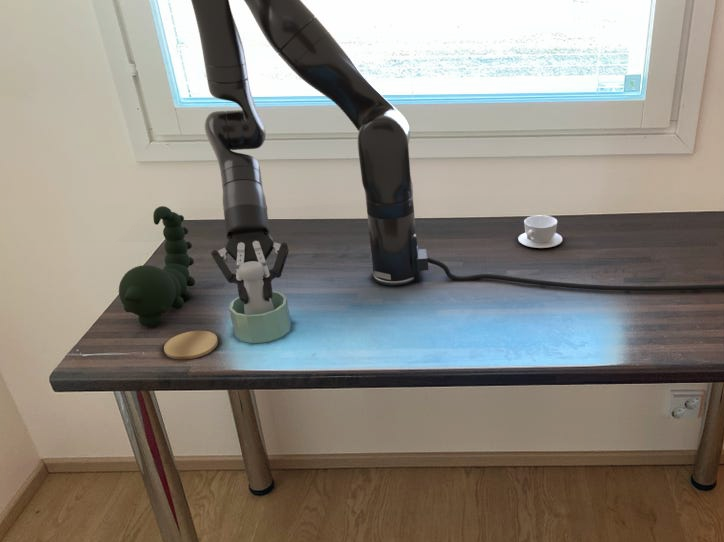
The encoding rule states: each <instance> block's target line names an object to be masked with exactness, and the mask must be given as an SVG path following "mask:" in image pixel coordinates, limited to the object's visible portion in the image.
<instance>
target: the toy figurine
mask: <svg viewBox="0 0 724 542" xmlns="http://www.w3.org/2000/svg"><path fill="white" fill-rule="evenodd" d="M152 217H153V223H154V225H156V226H158V225H159V224H160V222H162V225H163V226H164V228H163V231H162V235H163V237H164V239H165V242H164V250H165V253H166V254H165V255H164V264H165V265H164V266H163V268H160V267H158V266H155V265H151V264H149V265H148V264H145V265H144V264H143V265H138V266H135V267H133V268H131V269H129V270H128V271H127V272H125V273H124V275H123V276H122V277H121V280H120V282H119V285H118V296H119V299H120V302H121V304H122V305H123V309H124V311H125V312H126V313H131V314H134V315H135V316H138V318H137V319H138V320H137V321H138V322H139V324H140V325H142V326H143V327H146V328H154V327H155V328H156V327H158V326H161V324H162V323H163V321H164V316H163V314H164V313H166V312H167V311H169V309H170V308H172V309H175V310H180V309H181V308H182V307H183V306H184V303H185V301H188V300H189V299H191V297H192V292H191V291H190V290H189V289H188V287H189V288H190V287H194V285H195V284H196V279H195V277H193V276H190V270H189V269H188V268H189V267H190V266H193V265H194V263H195V260H194V258H193V257H191V256H189V254H188V253H187V252H188V250H190V249H192V247H193V244H192V242H190V241H186V240H185V235H187V234H189V229H188V228H187V227H185V226H182V222H184V221H185V217H184V216H183V215H182V214H179V213H177V212H174V211H172V209H170V208H169V207H167V206H163V205H161V206H158V207H156V208H155V209H154V211H153V215H152ZM161 220H162V221H161Z"/></svg>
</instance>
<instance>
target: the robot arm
mask: <svg viewBox="0 0 724 542" xmlns="http://www.w3.org/2000/svg"><path fill="white" fill-rule="evenodd" d="M190 1H191V6H192V9H193V12H194V16H195V21H196V25H197V29H198V33H199V39H200V46H201V50H202V56H203V57H202V58H203V62H204V69H205V74H206V81H207V86H208V91H209V93H210V95H211V96H212V97H213V98H216V99H219V100H223V101H228V102H233V103H235V104H237V105H238V106H239V107H240V108H241V109H239V110H235V109H234V110H216V111H212V112H210V113H209V114H208V115H207V117H206V119H205V122H204V131H205V134H206V137H207V140H208V142H209V144H210V147H211V148H212V150H213V153H214V155H215V157H216V161H217V164H218V167H219V172H220V180H221V188H222V207H223V217H224V225H225V234H226V242H225V244H224V247H223V248H221V249H219V250H217V249H214V250H212V251H210V254H211V256H212V259H213V260H214V262H215V263H216V265H217V266H218V268H219V270H220V272H221V273H222V275H223V276H224V278H225V279H226V281H227V282H228V283H229V284H236V287H237V294H238V297H239V298H240V300H241V302H242V301H243V302H244V304H247V303H248V299H247V293H246V288H245V286H244V280H243V279H241V278H240V276H239V267H240V266H241V265H242V264H243V263H246V262H250V261H256V262H259V263H261V264H262V265H263V267H264V276H263V277H262V279H263V282H264V285H263V291H264V298H265V301H270V300H269V298H272V297H273V292H272V291H273V285H272V281H273V280H275V279H276V278H277V279H278V278H280V277H281V276H282V273H283V270H284V267H285V265H286V261H287V257H288V255H289V252H290V250H289V246H288V244H287V243H286V242H283V243H280V242H275V241H274V239H273V238H272V237H271V230H270V222H269V214H268V206H267V200H266V199H267V198H266V195H265V192H264V188H263V180H262V172H261V167H260V162H259V161H258V159H257V158H256V157H254V156H252V155H250V154H246V153H241V152H236V151H241V150H255V149H256V150H257V149H259V148H261V147H262V146H263V145H264V144H265V140H266V137H267V135H266V127H265V125H264V122H263V119H262V117H261V114H260V112H259V110H258V108H257V105H256V103H255V101H254V98H253V95H252V92H251V87H250V84H249V83H250V82H249V81H250V80H249V75H248V68H247V61H246V55H245V49H244V45H243V41H242V38H241V35H240V32H239V30H238V29H239V28H238V27H237V24H236V20H235V18H234V15H233V12H232V9H231V5H230V0H190ZM243 2H244V3H245V4H246V6H247V8H248V10H249V11H250V13H251V15H252V17H253V19H254V20H255V22H256V24H257V26H258V27H259V30H260V31H261V33H262V34H263V36H264V38H265V39H266V41H267V42H268V44H269V45H270V46H271V48H272V49H273V51H275V53H276V54H277V55H278V56H279V57H280V58H281V59H282V60H283V61H284V63H286V65H287V66H288V67H289V68H290V69H291V70H292V71H293V72H294V73H295V74H296V75H297V76H298V77H299V78H300V79H301V80H303V81H304V82H305V83H307V85H309V86H310V87H312V88H313V89H315V90H316V91H317V92H319V93H320V94H322V96H323V95H324V97H326V98H328V99H329V100H331V101H332V102H333V103H334V104H335V105H336V106H337V107H338V108H339V109H340V110H341V111H342V112H343V113H344V114H345V115H346V117H347V118H348V119H349V121H350V122H351V123H352V124H353V126H354V127H355V128H356V130H357V131H358V134H357V151H358V160H359V168H360V169H359V170H360V176H361V183H362V187H363V189H364V193H365V194H364V195H365V203H366V204H365V205H366V213H367V224H368V233H369V234H368V235H369V243H370V252H371V253H370V254H371V262H372V276H373V277H372V278H373V280H374V282H376V283H377V284H379V285H383V286H390V287H391V286H392V287H397V286H398V287H399V286H405V285H407V284H410V283H413V282H419V281H420V272H423V271H429V264H431V265H435V266H438V267H439V268H440V269H442V270H443V271H444V273H445V275H446V277H448V278H449V279H451V280H454V281H457V282H458V281H459V282H460V281H461V282H462V281H463V282H464V281H475V280H482V279H483V280H484V279H485V280H486V279H488V280H499V281H507V282H511V283H513V282H514V283H519V284H528V285H538V286H547V287H556V288H566V289H577V290H578V289H579V290H595V291H616V292H617V291H620V292H621V291H622V292H656V291H657V292H658V291H659V292H660V291H661V292H664V291H665V292H667V291H670V292H671V291H702V290H703V291H704V290H705V291H707V290H724V283H718V284H717V283H716V284H715V283H714V284H713V283H712V284H682V285H679V284H678V285H677V284H675V285H614V284H613V285H612V284H609V285H608V284H591V283H589V284H588V283H577V282H576V283H574V282H563V281H554V280H553V281H552V280H543V279H534V278H527V277H526V278H525V277H517V276H511V275H504V274H496V273H495V274H494V273H477V274H472V275H466V276H465V275H464V276H461V275H456V274H453V273H452V272H451V270H450V268H449V267H448V266H447V265H446V264H445V263H444V262H442V261H440V260H437V259H434V258H432V257H429V256H428V252H427V249H426V248H418V239H417V238H418V237H417V231H416V219H415V218H416V217H415V203H414V188H413V186H414V185H413V181H412V176H411V163H410V148H409V143H410V138H411V130H410V129H411V128H410V126H409V123H408V121H407V119H406V118H405V116H404V115H403V114H402V113H401V112H400V111H399V110H398V109H397V108H396V107H395V106H394V105H393V104H391V103H390V101H388V99H386V98H385V97H384V96H383V95H382V94H381V93H380V92H379V91H378V90H377V89H376V88H375V87H374V86H373V85H372V84H371V83H370V82H369V81H368V79H366V78H365V77H364V75H363V74H362V73H361V71H360V70H359V69H358V67H357V66H356V65H355V63H354V62H353V60H352V59H351V58H350V57H349V55H348V54H347V53H346V52H345V50H344V49H343V48H342V47H341V46H340V44H339V43H338V42H337V41H336V40H335V38H334V37H333V35H332V34H331V33H330V32H329V30H328V29H327V28H326V27H325V26H324V25H323V24H322V23H321V21H320V20H319V19H318V17H316V15H315V14H314V13H313V12H312V11H311V10H310V9H309V7H307V6H306V4H304V3H303V1H302V0H243ZM273 250H274V252H275V255H276V258H275V261H274V264H273V267H272V268H271V269H269V267H268V263H267V260H268V258H269V256H270V254H271V253H272V252H273ZM227 255H229V256H230V257H231V258H232V259H233V260H234V261H235V262H236V273H232V271H231V269H230V268H229V267H228V265H227V263H226V262H227V261H228V258H227Z"/></svg>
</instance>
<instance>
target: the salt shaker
mask: <svg viewBox="0 0 724 542" xmlns="http://www.w3.org/2000/svg"><path fill="white" fill-rule="evenodd" d="M239 276H240V278H241V279H243V280H244V286H245V288H246V293H247V299H248V303H247V304H244V311H245V315H255V314H263V313H267V312H270V311H273V310H275V308H274V305H273V303H272V301H271V298H269V300H270V301H265V298H264V291H263V285H264V282H263V276H264V267H263V265H262V264H261V263H259V262H256V261H250V262H246V263H243V264H242V265H241V266H240V267H239Z"/></svg>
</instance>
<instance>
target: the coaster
mask: <svg viewBox="0 0 724 542" xmlns="http://www.w3.org/2000/svg"><path fill="white" fill-rule="evenodd" d="M218 343H219V340H218V336H217V335H216V334H215V333H213V332H212V331H208V330H190V331H185V332H182V333H179V334H177V335H175V336H173V337H171V338H170V339H168V341H166V342H165V344H164V346H163V351H164V354H165V356H167V357H169V358H170V359H173V360H182V361H183V360H192V359H196V358H200V357H203V356H205V355H208V354H209V353H211V352H212V351H214V350H215V349H216V348H217V346H218Z"/></svg>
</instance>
